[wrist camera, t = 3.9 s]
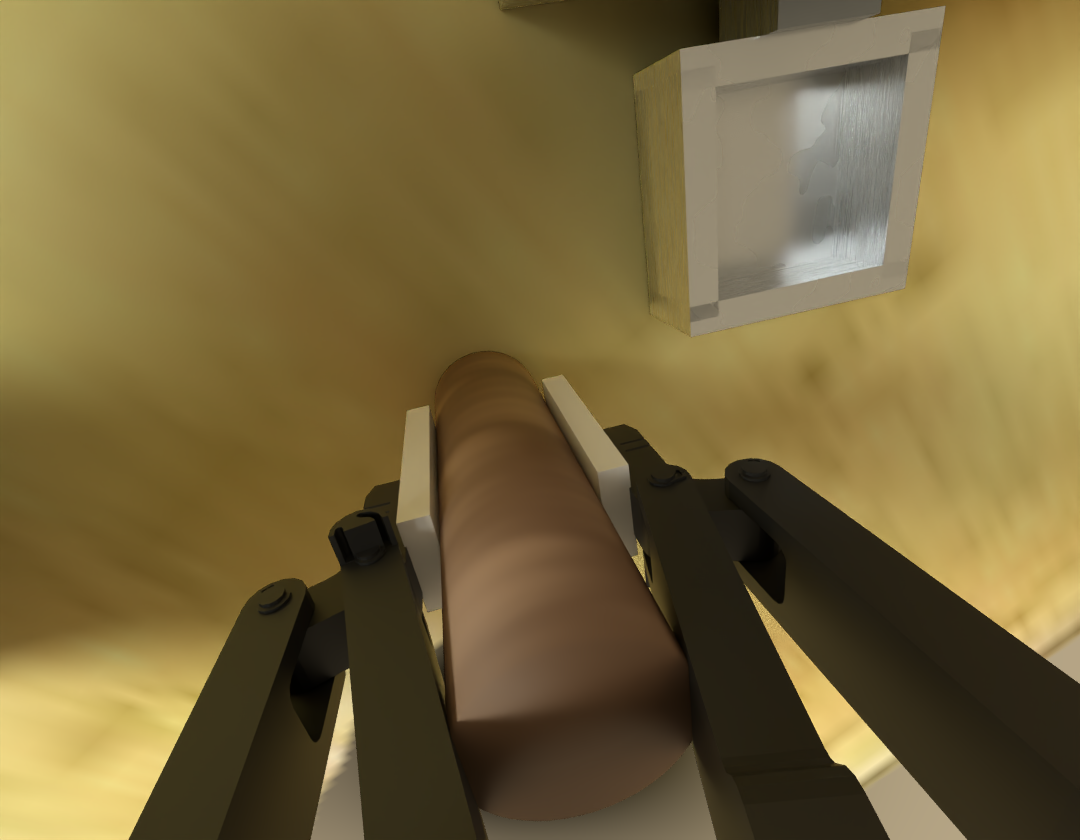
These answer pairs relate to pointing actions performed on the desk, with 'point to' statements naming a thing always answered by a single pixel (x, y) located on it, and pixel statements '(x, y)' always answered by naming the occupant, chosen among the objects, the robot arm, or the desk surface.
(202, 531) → the desk surface
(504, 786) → the handle
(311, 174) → the desk surface
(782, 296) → the bracket
